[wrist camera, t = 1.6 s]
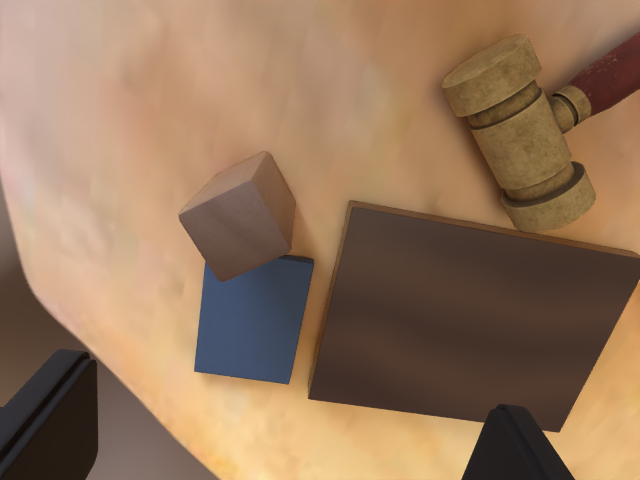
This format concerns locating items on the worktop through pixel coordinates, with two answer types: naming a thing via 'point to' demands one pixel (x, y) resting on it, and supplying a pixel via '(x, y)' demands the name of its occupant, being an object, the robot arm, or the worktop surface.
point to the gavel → (537, 125)
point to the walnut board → (464, 317)
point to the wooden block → (242, 217)
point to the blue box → (253, 320)
